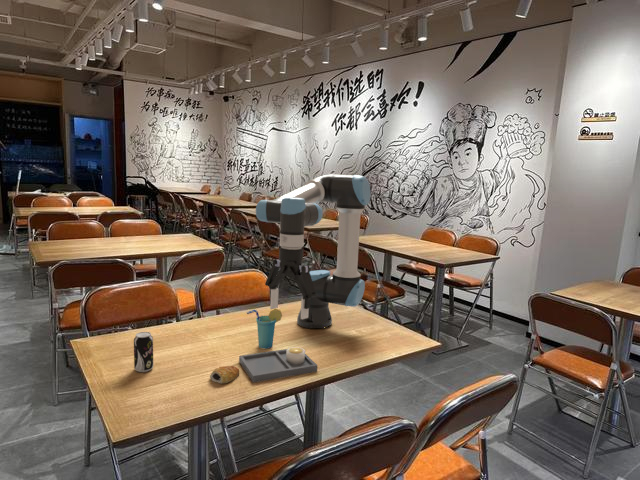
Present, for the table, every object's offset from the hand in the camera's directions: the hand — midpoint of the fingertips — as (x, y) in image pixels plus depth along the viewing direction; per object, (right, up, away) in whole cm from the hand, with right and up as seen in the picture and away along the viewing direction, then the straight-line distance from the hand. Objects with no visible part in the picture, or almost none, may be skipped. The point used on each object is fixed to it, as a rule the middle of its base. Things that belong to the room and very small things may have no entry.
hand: (288, 313), depth 141 cm
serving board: (-4, -19, +8) cm, 22 cm away
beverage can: (-47, -19, +2) cm, 51 cm away
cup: (-11, -17, +25) cm, 32 cm away
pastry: (-20, -21, -1) cm, 29 cm away
